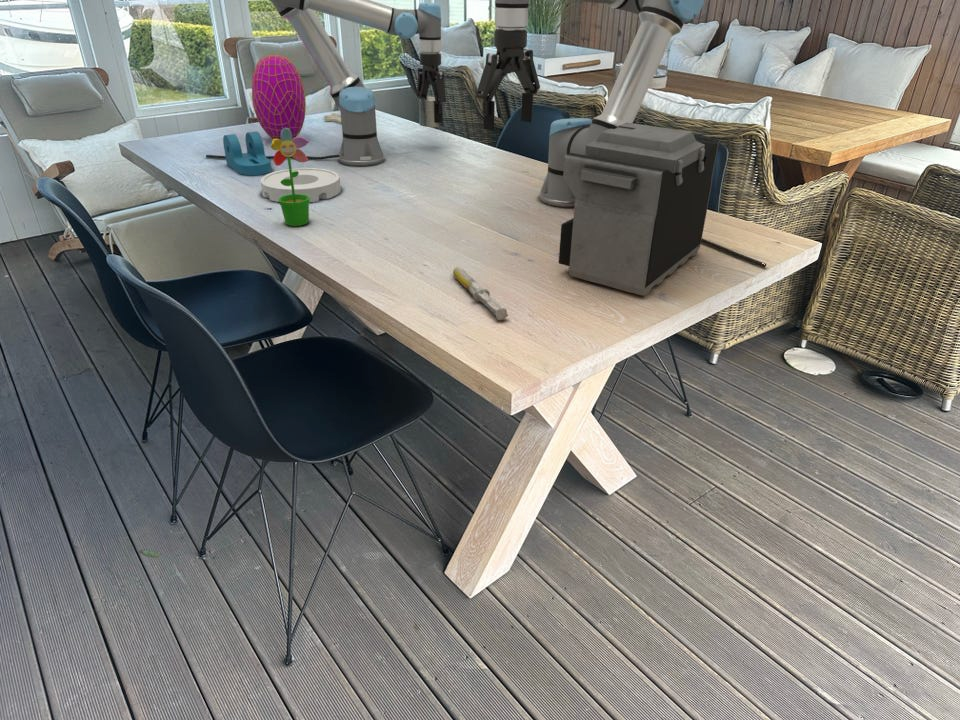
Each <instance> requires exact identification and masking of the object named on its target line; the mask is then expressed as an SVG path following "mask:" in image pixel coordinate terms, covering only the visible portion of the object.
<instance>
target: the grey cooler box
mask: <svg viewBox="0 0 960 720" xmlns="http://www.w3.org/2000/svg"><path fill="white" fill-rule="evenodd" d="M719 144H720V143H719V141H715V140H708V139H701V138H697V137H695V134H694V132H693V131H689V130H681V129H675V128H668V127H661V126H654V125H649V124H640V123H634V122H633V123H624V124H622V125H619V126H618V128H616V129H608V130H606V131H603V132H601V134H600V135H599V137H598V138H597V140H596V141H594V142H592V143H590V144H587V145H586V148H585V155H580V154H575V153H569V154H567V155H565V159H564V173H563V178H564V179H565V181H566V183H567V184H568V186H569V188H570V189H571V191H572V193H573V195H574V196H575V198H576V201H575V206H574V207H573V217H572V218H570V219H568V220H567V221H565V222H563V223H561V226H560V239H559V251H558V264H559V265H563V266H566V267H568V268H569V269H568V274H569V276H570V277H574V278H577V279H580V280H584V281H588V282H591V283H595V284H598V285H602V286H606V287H609V288H613V289H617V290H619V291H624V292H627V293H631V294H634V295H638V296H643V297H644V296H647V295H648V294H649V293H650V292H651V290H652V289H653V288H654V287H655V286H659V285H660V284H661V283H662V282H663V281H664V279H665V278H666V277H667V276H671V275H672V274H673V273H675V272H676V270H677V269H678V267H679V266H680V267H681V266H683V265H684V264H686V263H687V261H688V260H689V258H693V257H694V256H695V255H696V254H697V253H698V252H699V251H700V248H701V244H702V242H701V240H702V239H703V235H704V228H705V222H706V218H707V212H708V208H709V203H710V202H709V201H710V196H711V191H712V186H713V185H712V184H713V177H714V171H715V165H716V160H717V154H718V148H719Z"/></svg>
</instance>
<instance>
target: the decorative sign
mask: <svg viewBox="0 0 960 720" xmlns="http://www.w3.org/2000/svg"><path fill="white" fill-rule="evenodd" d="M323 118H324V122H335V123H338V124H342V122H341V114H339V113H331V114H326V115H324V116H323Z"/></svg>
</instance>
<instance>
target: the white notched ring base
mask: <svg viewBox="0 0 960 720" xmlns="http://www.w3.org/2000/svg"><path fill="white" fill-rule="evenodd" d="M294 171H297V172H299V174H298V175H297V176H296V177H294V178H293V183H294V191H295V194H304V195H307V196H309V203H315V202H319V201H320V200H328V199H332V198H333V197H335V196H337V195H339V194H340V193H341V190H342V188H341V187H342V185H341V176H340V174H339V173H338V172H336V171H333V170H330V169H326V168H318V167H295V168H292V172H294ZM283 179H290V173H289V168H287V169H281V170H277V171H276V170H275V171H273V172H272V171H271V172H269V173H266V174H264V175H263V176H262V177H261V178H260V187H261V188H260V189H261V194H262V196H263V198H266V199H267V198H268V199H269V201H272V202H276V203H279V198H280V197H282V196H285V195H290V194H292V188H291V186H284V185H282V184H281V181H282V180H283Z"/></svg>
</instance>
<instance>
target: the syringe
mask: <svg viewBox="0 0 960 720" xmlns="http://www.w3.org/2000/svg"><path fill="white" fill-rule="evenodd" d="M452 274H453V277H454V279H455V280H457V281H458V282H459V283H460V285H462V287H464V289H466V290H467V291H468V293H470V295H471V296H472V298H473V300H474V302H477V303H478V302H480V303H482V304H483V305H484V306H485V307H486V308H487V309H488V310H489V311H490V312H491V313H492V314H493V315H494V316H495V317H496V320H497V321H503V320H504V319H506V318H507V317H509V314H508V310H507V308H506V307H502V306H501V305H500V303H498V302H497V301H496V300H494V299H493V298H492V297H491V296H490V295H491V293H490V290H488V289H486V288H483V287H482V286H481V285H480V284H479V283H478V282H477V281H476V280H474V278H473V277H471V275H469V274H468V273H467V272H466V270H465V269H464V268H463V267H462V266H456V267H454V268H453V271H452Z"/></svg>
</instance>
